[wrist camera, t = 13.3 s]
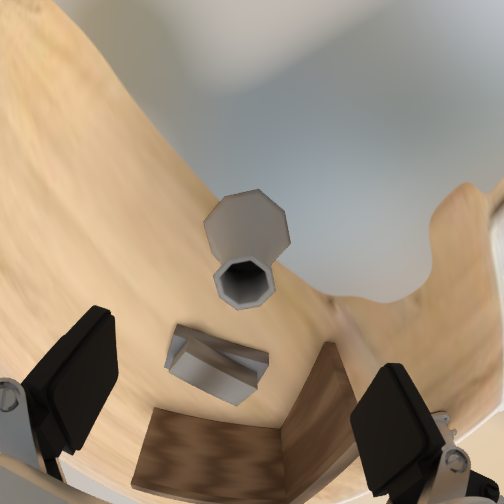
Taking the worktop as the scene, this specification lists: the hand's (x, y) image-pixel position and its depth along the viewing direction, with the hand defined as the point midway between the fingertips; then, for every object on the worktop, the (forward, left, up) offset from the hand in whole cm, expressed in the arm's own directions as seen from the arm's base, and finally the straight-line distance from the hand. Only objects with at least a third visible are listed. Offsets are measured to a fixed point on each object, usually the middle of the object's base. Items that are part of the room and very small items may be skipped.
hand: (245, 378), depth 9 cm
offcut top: (+1, +14, -15) cm, 20 cm away
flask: (0, 0, -17) cm, 17 cm away
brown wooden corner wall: (-2, +19, -17) cm, 25 cm away
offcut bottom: (+1, +14, -17) cm, 22 cm away
